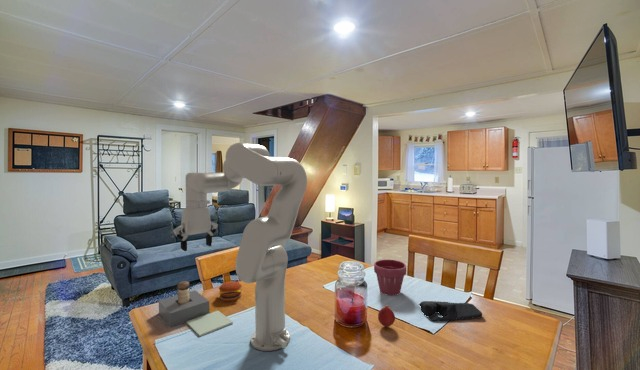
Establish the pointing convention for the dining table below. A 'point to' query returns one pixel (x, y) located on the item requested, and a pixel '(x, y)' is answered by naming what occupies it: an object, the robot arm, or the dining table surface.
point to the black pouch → (449, 310)
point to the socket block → (183, 308)
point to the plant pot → (390, 275)
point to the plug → (183, 292)
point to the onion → (386, 316)
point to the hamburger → (230, 291)
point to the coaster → (209, 323)
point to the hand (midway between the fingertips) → (196, 247)
